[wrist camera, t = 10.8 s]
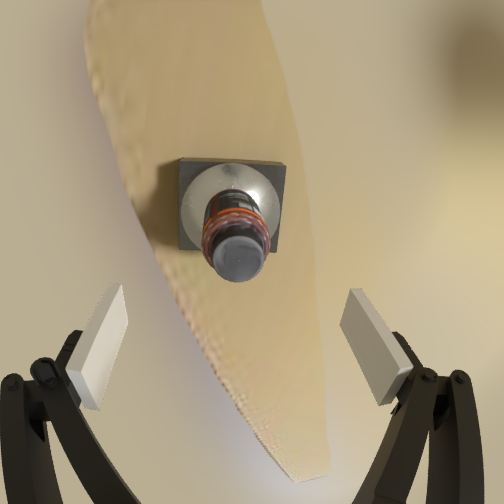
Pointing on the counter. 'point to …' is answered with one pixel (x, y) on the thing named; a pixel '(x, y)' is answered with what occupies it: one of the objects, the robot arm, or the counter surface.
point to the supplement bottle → (234, 236)
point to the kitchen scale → (221, 178)
